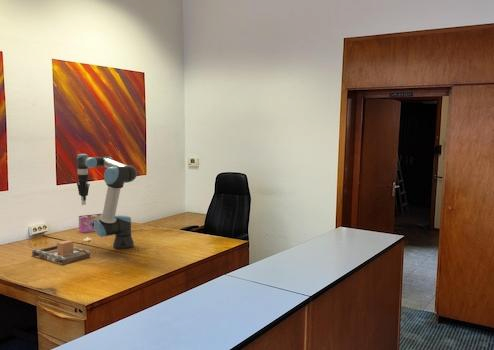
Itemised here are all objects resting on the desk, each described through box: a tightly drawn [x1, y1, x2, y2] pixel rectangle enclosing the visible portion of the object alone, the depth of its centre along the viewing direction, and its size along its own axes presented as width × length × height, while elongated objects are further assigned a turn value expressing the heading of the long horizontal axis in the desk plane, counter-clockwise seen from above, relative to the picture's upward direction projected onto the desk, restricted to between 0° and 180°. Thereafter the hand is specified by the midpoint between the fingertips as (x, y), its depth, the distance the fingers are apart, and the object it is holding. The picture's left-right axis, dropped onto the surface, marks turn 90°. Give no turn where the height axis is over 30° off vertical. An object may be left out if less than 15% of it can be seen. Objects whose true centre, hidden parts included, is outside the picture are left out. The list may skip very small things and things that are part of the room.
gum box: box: [78, 213, 103, 234], centre depth 373 cm, size 24×8×14 cm, turn 125°
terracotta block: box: [56, 239, 74, 255], centre depth 292 cm, size 6×8×8 cm
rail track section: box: [31, 245, 91, 265], centre depth 296 cm, size 36×20×4 cm, turn 57°
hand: (83, 204), depth 332 cm, fingers closed
